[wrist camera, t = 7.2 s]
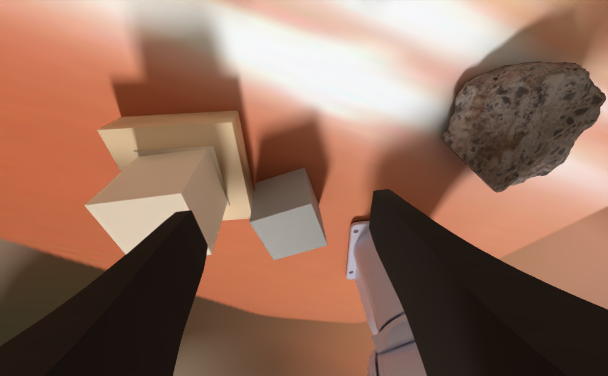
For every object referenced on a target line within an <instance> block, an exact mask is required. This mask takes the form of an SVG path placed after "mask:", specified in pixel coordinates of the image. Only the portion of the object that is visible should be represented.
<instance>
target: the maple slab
mask: <svg viewBox="0 0 608 376" xmlns="http://www.w3.org/2000/svg"><path fill="white" fill-rule="evenodd" d="M98 132H99V134H100V136H101V137H102V139H103V141H104V143H105V144H106V146H107V148H108V150H109V151H110V153H111V155H112V157H113V158H114V160H115V162H116V164H117V165H118V167H119V169H120V171H121V172H122V171H123V170H124V169H125V168H126V167H127V166H128V165H129V164H131V163H132V162H133V161H134V160H135V159H136V158H137V157H139V156H147V155H155V154H163V153H171V152H180V151H188V150H196V149H204V148H208V150H209V153H210V155H211V158H212V161H213V164H214V166H215V169H216V172H217V174H218V177H219V180H220V183H221V185H222V188H223V191H224V194H225V196H226V199H227V205H226V208H225V212H224V215H223V218H222V220H235V219H247V218H250V216H251V209H252V203H253V196H254V190H253V185H252V180H251V175H250V169H249V164H248V159H247V154H246V149H245V144H244V138H243V133H242V128H241V123H240V118H239V113H238V110H234V111H216V112H198V113H180V114H162V115H144V116H126V117H120V118H118V119H116V120H115V121H113V122H111V123H109V124H107V125H106V126H104V127H102V128H100V129H98Z"/></svg>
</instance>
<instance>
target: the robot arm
mask: <svg viewBox="0 0 608 376" xmlns="http://www.w3.org/2000/svg"><path fill="white" fill-rule="evenodd" d="M207 249H208V244H207V242H206V240H205V238H204V236H203V233H202V231H201V229H200V227H199V225H198V223H197V221H196V218H195V216H194V214H193V212H192V210H188V211H179V212H175V213H174V214H173V215H171V216H170V217H169V218H168V219H166V220H165V221H164V222H163V223H162V224H161V225H159V226H158V227H157V228H156V229H155V230H154V231H153V232H151V233H150V234H149V235H148V236H147V237H146V238H145V239H143V240H142V241H141V242H140V243H139V244H138V245H137V246H135V247H134V248H133V249H132V250H131V251H130V252H128V253H127V254H126V255H125V256H124V257H123V258H121V259H120V260H119V261H118V262H116V263H115V264H114V265H113V266H111V267H110V268H109V269H108V270H107V271H105V272H104V273H103V274H102V275H100V276H99V277H98V278H97V279H96V280H94V281H93V282H92V283H90V284H89V285H88V286H87V287H86V288H84V289H83V290H81V291H80V292H79V293H77V294H76V295H75V296H73V297H72V298H71V299H69V300H68V301H66V302H65V303H64V304H62V305H61V306H60V307H58V308H57V309H55V310H54V311H53V312H51V313H50V314H48V315H47V316H45V317H44V318H42V319H41V320H40V321H38V322H37V323H35V324H33V325H32V326H31V327H29V328H28V329H26V330H24V331H23V332H21V333H20V334H18V335H17V336H15V337H14V338H12V339H11V340H9V341H8V342H6V343H5V344H3V345H2V346H0V376H173V372H174V367H175V364H176V359H177V355H178V351H179V346H180V342H181V339H182V335H183V331H184V328H185V325H186V322H187V319H188V316H189V313H190V310H191V307H192V304H193V301H194V298H195V295H196V292H197V289H198V286H199V283H200V280H201V277H202V273H203V270H204V265H205V260H206V255H207ZM346 277H347V279H355V281H356V284H357V287H358V291H359V294H360V297H361V301H362V304H363V308H364V311H365V314H366V318H367V321H368V324H369V326H370V328H371V331H372V332H373V334H374V336H372V338H373V341H374V345H375V348H376V349H375V350H373V351H372V352H371V354H370V356H369V363H368V369H367V376H608V310H607V309H605V308H603V307H600V306H598V305H595V304H593V303H591V302H588V301H586V300H583V299H581V298H579V297H576V296H574V295H572V294H570V293H568V292H565V291H563V290H561V289H558V288H556V287H554V286H552V285H550V284H548V283H545V282H543V281H541V280H539V279H537V278H535V277H533V276H531V275H529V274H526V273H524V272H522V271H520V270H518V269H516V268H514V267H512V266H510V265H508V264H506V263H504V262H503V261H501V260H499V259H497V258H495V257H493V256H491V255H490V254H488V253H486V252H484V251H482V250H480V249H479V248H477V247H475V246H473V245H472V244H470V243H468V242H466V241H465V240H463V239H462V238H460V237H458V236H457V235H455V234H454V233H452V232H450V231H449V230H447V229H446V228H444V227H443V226H441V225H439V224H438V223H436V222H435V221H433V220H432V219H431V218H429V217H428V216H426V215H425V214H423V213H422V212H420V211H419V210H418V209H416V208H415V207H413V206H412V205H411V204H409V203H408V202H406V201H405V200H404V199H402V198H401V197H399V196H398V195H397V194H395V193H394V192H392V191H391V190H389V189H386V190H376V191H374V192H373V200H372V207H371V215H370V221H362V222H354V223H352V224H351V229H350V239H349V249H348V260H347V270H346Z"/></svg>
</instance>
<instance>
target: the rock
mask: <svg viewBox="0 0 608 376" xmlns="http://www.w3.org/2000/svg"><path fill="white" fill-rule="evenodd" d="M589 74H590V73H589V72H588V71H586V69H584V68H582V67H581V66H579V65H578V64H576V63H567V62H563V63H556V64H554V63H542V62H532V63H522V64H518V65H508V66H504V67H501V68H500V69H495V70H493V71H491V72H489V73H485V74H481V75H479V76H476V77H474V78H473V79H472V80H471V81H468V82H466V83H465V84H464V86H463V88H462V89H461V91H460V92H459V93H458V94H457V96H456V99H455V113H454V115H453V116H452V117H451V118H450V123H449V128H448V131H446V132H445V133H444V134H443V137H442V139H443V141H444V142H445V143H446V144H447V145H448V146H449V147H450V148H451V149H452V150H453V151H454V152H455V153H456V154H457V155H458V156H459V157H460V158H461V159H462V160H463V161H464V162H465V163H466V164H467V165H468V166H469V167H470V168H471V169H472V170H473V171H474V172H475V173H476V174H477V175H478V176H479V177H480V178H481V179H482V180H483V181H484V182H485V183H486V184H487V185H488V186H489V187H490V188H491V189H492V190H494V191H495V192H502V191H504V190H505V189H506V188H508V187H509V186H510V185H516V184H519V183H523V182H524V181H525V180H526V179H529V178H531V177H535V176H539V175H540V176H544V175H547V174H548V173H550V172H551V171H552V170H553V169H554V168H556V167H557V166H559V165H560V164H562V163H564V161H565V160H566V158H567V157H568V155H569V153H570V150H571V148H572V147H573V145H574V143H575V141H576V140H577V138H578V137H579V136H580V134H581V133H582V132H583V131H584V130H586V129H588V128H590V127H591V126H592V125H593V124H594V123H595V122H596V121H597V119H598V117H599V114H600V107H601V106H602V105H603V103H604V102H605V100H606V96H605V94H604V93H603V92H601V90H600V89H599V88H598V87H596V86H595V85H594V84H593V82H592V81H591V79H590V78H589Z"/></svg>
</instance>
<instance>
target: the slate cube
mask: <svg viewBox="0 0 608 376" xmlns="http://www.w3.org/2000/svg"><path fill="white" fill-rule="evenodd" d="M250 224H251V225H252V227H253V229H254V230H255V232H256V233H257V235H258V236H259V238H260V239H261V241H262V242H263V244H264V246H265V247H266V249H267V250H268V252H269V253H270V255H271V256H272V258H273V260H277V259H280V258H284V257H287V256H291V255H294V254H298V253H302V252H305V251H309V250H312V249H316V248H319V247H323V246H327V240H326V236H325V231H324V227H323V222H322V218H321V213H320V209H319V205H318V202H317V199H316V196H315V194H314V191H313V188H312V186H311V183H310V180H309V177H308V175H307V172H306V169H305V167H303V168H300V169H297V170H294V171H291V172H288V173H285V174H282V175H279V176H276V177H272V178H269V179H266V180H263V181H260V182H257V183H256V184H255V190H254V196H253V203H252V209H251V216H250Z"/></svg>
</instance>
